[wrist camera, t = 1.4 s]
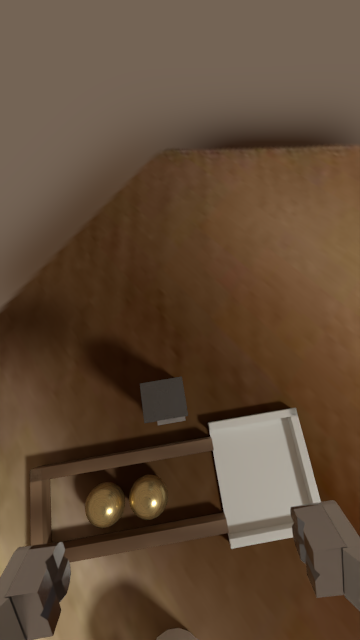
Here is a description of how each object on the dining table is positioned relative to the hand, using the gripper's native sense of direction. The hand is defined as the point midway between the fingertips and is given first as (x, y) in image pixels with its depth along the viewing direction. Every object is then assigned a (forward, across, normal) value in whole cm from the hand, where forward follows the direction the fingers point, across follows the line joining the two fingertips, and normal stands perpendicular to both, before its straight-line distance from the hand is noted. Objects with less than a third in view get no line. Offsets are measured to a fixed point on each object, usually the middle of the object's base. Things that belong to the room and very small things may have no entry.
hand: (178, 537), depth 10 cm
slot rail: (+19, -8, -15) cm, 25 cm away
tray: (+19, +7, -15) cm, 26 cm away
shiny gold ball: (+19, -5, -15) cm, 25 cm away
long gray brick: (+23, -2, -7) cm, 25 cm away
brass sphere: (+19, -10, -15) cm, 26 cm away
